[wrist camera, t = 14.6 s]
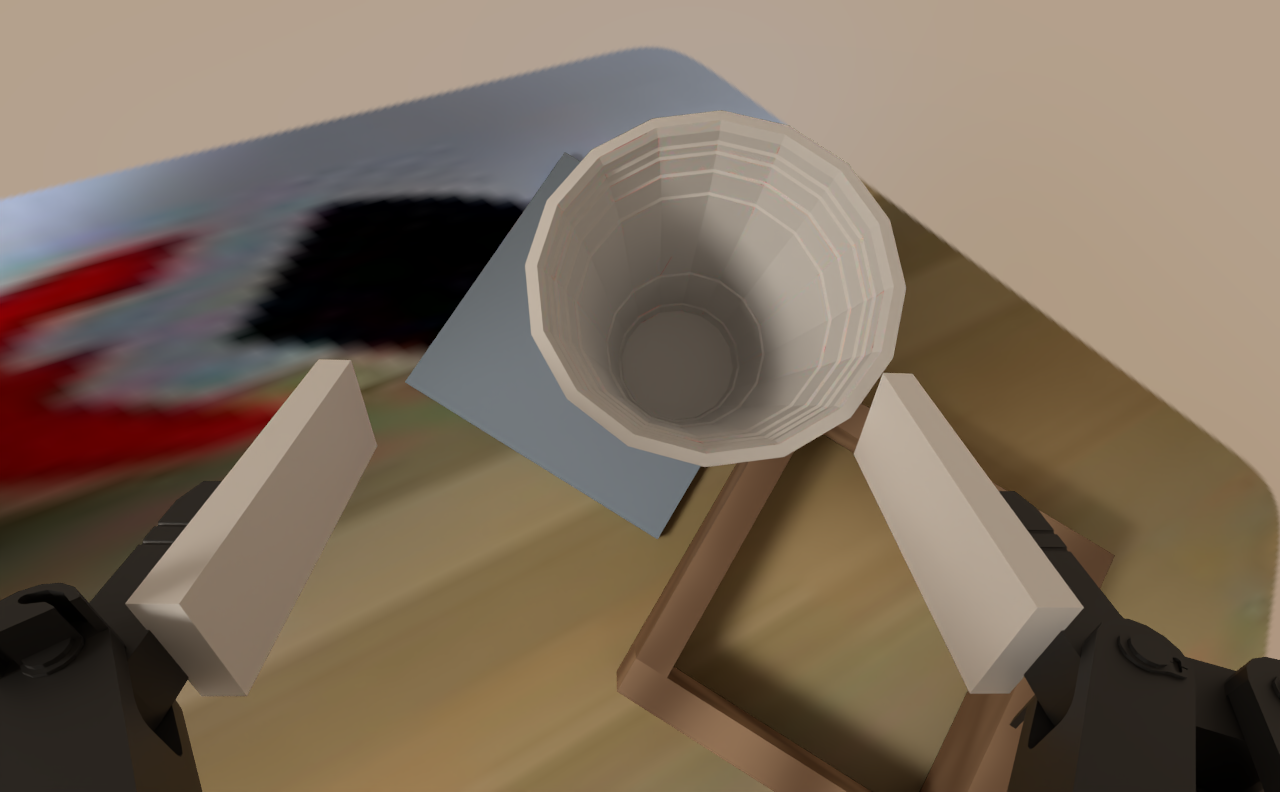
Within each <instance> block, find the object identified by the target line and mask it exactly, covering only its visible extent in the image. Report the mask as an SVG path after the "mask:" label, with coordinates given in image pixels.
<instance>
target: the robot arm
mask: <svg viewBox="0 0 1280 792" xmlns="http://www.w3.org/2000/svg"><path fill="white" fill-rule="evenodd" d="M376 447H377V444H376V440H375V437H374V434H373V431H372V427H371V424H370V421H369V417H368V414H367V411H366V407H365V404H364V401H363V397H362V394H361V391H360V388H359V384H358V381H357V378H356V374H355V371H354V368H353V364H352V361H351V360H326V359H319V360H318V361H317V362H316V363H315V365H314V366H313V367H312V368H311V370H310V371H309V372H308V373H307V375H306V376H305V377H304V378H303V380H302V381H301V382H300V384H299V385H298V386H297V387H296V389H295V390H294V391H293V392H292V394H291V395H290V396H289V397H288V399H287V400H286V401H285V402H284V404H283V405H282V406H281V407H280V409H279V410H278V411H277V413H276V414H275V415H274V416H273V418H272V419H271V420H270V421H269V423H268V424H267V425H266V426H265V428H264V429H263V430H262V431H261V433H260V434H259V435H258V437H257V438H256V439H255V440H254V442H253V443H252V444H251V445H250V447H249V448H248V449H247V450H246V452H245V453H244V454H243V455H242V457H241V458H240V459H239V460H238V462H237V463H236V464H235V466H234V467H233V468H232V469H231V471H230V472H229V473H228V474H227V476H226V477H225V478H224V479H223V481H203V482H202V483H200V484H199V485H197V486H196V487H195V488H193V489H192V490H190V491H189V492H187V493H186V494H185V495H183V496H182V497H180V498H179V499H178V500H176V502H175V503H174V504H173V505H172V506H171V507H170V509H169V510H168V511H167V512H166V513H165V514H164V516H163V517H162V518H161V519H160V520H159V522H158V526H154V527H153V529H152V530H151V531H150V532H149V533H148V534H147V536H146V537H145V538H144V539H143V544H142V545H138V546H137V547H136V549H135V550H134V551H133V552H132V553H131V554H130V556H129V557H128V558H127V559H126V560H125V561H124V563H123V564H122V565H121V566H120V567H119V569H118V570H117V571H116V572H115V573H114V574H113V576H112V577H111V578H110V579H109V580H108V581H107V583H106V584H105V585H104V586H103V587H102V589H101V590H100V591H99V592H98V593H97V594H96V596H95V597H94V598H93V599H92V600H91V601H90V603H88V602H87V600H86V599H85V598H84V597H83V596H82V595H81V594H80V593H79V592H78V590H77V589H76V588H75V587H73V586H70V585H66V584H63V583H52V584H41V585H38V586H35V587H31V588H28V589H25V590H22V591H19V592H17V593H15V594H13V595H11V596H9V597H7V598H5V599H3V600H1V601H0V792H202V789H201V784H200V780H199V776H198V772H197V768H196V764H195V760H194V756H193V752H192V748H191V744H190V740H189V736H188V732H187V728H186V724H185V720H184V716H183V712H182V709H181V707H180V706H179V704H178V703H177V701H176V700H175V699H176V698H177V696H178V694H179V693H180V691H181V689H182V688H183V686H184V685H185V683H186V681H187V680H189V681H190V683H191V684H192V685H193V686H194V687H195V689H196V690H197V691H198V692H199V693H200V695H201V696H247V695H248V693H249V691H250V689H251V687H252V685H253V683H254V681H255V679H256V678H257V676H258V674H259V672H260V670H261V668H262V666H263V664H264V662H265V660H266V658H267V656H268V654H269V653H270V651H271V649H272V647H273V645H274V643H275V641H276V639H277V637H278V635H279V633H280V631H281V630H282V628H283V626H284V624H285V622H286V620H287V618H288V616H289V614H290V612H291V610H292V608H293V607H294V605H295V603H296V601H297V599H298V597H299V595H300V593H301V591H302V589H303V587H304V585H305V584H306V582H307V580H308V578H309V576H310V574H311V572H312V570H313V568H314V566H315V564H316V562H317V561H318V559H319V557H320V555H321V553H322V551H323V549H324V547H325V545H326V543H327V541H328V539H329V538H330V536H331V534H332V532H333V530H334V528H335V526H336V524H337V522H338V520H339V518H340V516H341V515H342V513H343V511H344V509H345V507H346V505H347V503H348V501H349V499H350V497H351V495H352V493H353V491H354V490H355V488H356V486H357V484H358V482H359V480H360V478H361V476H362V474H363V472H364V470H365V468H366V467H367V465H368V463H369V461H370V459H371V457H372V455H373V453H374V451H375V449H376ZM854 456H855V458H856V460H857V462H858V464H859V466H860V468H861V470H862V472H863V474H864V476H865V479H866V481H867V483H868V485H869V487H870V489H871V491H872V493H873V495H874V497H875V499H876V501H877V503H878V505H879V507H880V509H881V511H882V514H883V516H884V518H885V520H886V522H887V524H888V526H889V528H890V530H891V532H892V534H893V536H894V538H895V540H896V542H897V544H898V547H899V549H900V551H901V553H902V555H903V557H904V559H905V561H906V563H907V565H908V567H909V569H910V571H911V573H912V575H913V577H914V579H915V582H916V584H917V586H918V588H919V590H920V592H921V594H922V596H923V598H924V600H925V602H926V604H927V606H928V608H929V610H930V612H931V614H932V617H933V619H934V621H935V623H936V625H937V627H938V629H939V631H940V633H941V635H942V637H943V639H944V641H945V643H946V645H947V647H948V650H949V652H950V654H951V656H952V658H953V660H954V662H955V664H956V666H957V668H958V670H959V672H960V674H961V676H962V678H963V680H964V682H965V685H966V687H967V689H968V691H969V693H970V694H1009V693H1010V692H1011V691H1012V690H1013V689H1014V688H1015V687H1016V685H1017V684H1018V683H1019V682H1020V681H1021V680H1022V678H1023V677H1025V678H1026V680H1027V682H1028V684H1029V685H1030V687H1031V689H1032V691H1033V692H1034V694H1035V695H1034V696H1033V697H1032V698H1031V699H1030V700H1029V701H1028V703H1027V704H1026V705H1025V706H1024V707H1023V708H1022V709H1021V710H1020V711H1019V712H1018V713H1017V714H1016V716H1015V717H1014V718H1013V720H1012V721H1011V723H1010V726H1012V727H1014V728H1015V729H1016V728H1017V727H1018V726H1019V725H1020V724H1021V723H1022V722H1023V721H1024V722H1023V726H1022V730H1021V734H1020V739H1019V743H1018V747H1017V751H1016V756H1015V760H1014V764H1013V768H1012V772H1011V777H1010V781H1009V785H1008V789H1007V792H1280V660H1277V659H1272V658H1268V657H1262V658H1255V659H1252V660H1250V661H1249V662H1248V663H1247V664H1245V665H1244V666H1243V667H1241V668H1240V669H1239V670H1238V671H1234V670H1230V669H1227V668H1223V667H1220V666H1216V665H1212V664H1209V663H1205V662H1202V661H1198V660H1195V659H1191V658H1188V657H1185V656H1184V655H1183V654H1182V652H1181V651H1180V650H1179V649H1178V648H1177V647H1176V646H1174V645H1173V644H1172V643H1171V642H1170V641H1169V640H1168V639H1167V638H1166V637H1164V636H1163V635H1161V634H1159V633H1158V632H1156V631H1154V630H1153V629H1151V628H1150V627H1148V626H1146V625H1143V624H1141V623H1138V622H1135V621H1133V620H1130V619H1124V618H1123V617H1122V616H1121V615H1120V614H1119V613H1118V611H1117V610H1116V609H1115V608H1114V606H1113V605H1112V604H1111V602H1110V601H1109V600H1108V599H1107V597H1106V596H1105V595H1104V593H1103V592H1102V591H1101V590H1100V588H1099V587H1098V586H1097V584H1096V583H1095V582H1094V581H1093V579H1092V578H1091V577H1090V576H1089V574H1088V573H1087V572H1086V570H1085V569H1084V568H1083V567H1082V565H1081V564H1080V563H1079V561H1078V560H1077V559H1076V558H1075V556H1074V555H1073V554H1072V552H1068V551H1067V546H1066V545H1065V544H1064V542H1063V541H1062V540H1061V538H1060V537H1059V536H1058V535H1057V534H1054V529H1053V528H1052V527H1051V526H1050V524H1049V523H1048V522H1047V520H1046V519H1045V518H1044V517H1043V515H1042V514H1041V513H1040V511H1039V510H1038V509H1037V508H1035V507H1034V506H1033V505H1032V504H1030V503H1029V502H1028V501H1026V500H1025V499H1024V498H1023V497H1021V496H1020V495H1019V494H1017V493H1016V492H1015V491H998V490H997V488H996V487H995V486H994V484H993V483H992V481H991V480H990V479H989V477H988V476H987V475H986V473H985V472H984V471H983V469H982V468H981V466H980V465H979V464H978V462H977V461H976V460H975V458H974V457H973V455H972V454H971V453H970V451H969V450H968V449H967V447H966V446H965V445H964V443H963V442H962V440H961V439H960V438H959V436H958V435H957V434H956V432H955V431H954V430H953V428H952V427H951V425H950V424H949V423H948V421H947V420H946V419H945V417H944V416H943V415H942V413H941V412H940V410H939V409H938V408H937V406H936V405H935V404H934V402H933V401H932V399H931V398H930V397H929V395H928V394H927V393H926V391H925V390H924V389H923V387H922V386H921V384H920V383H919V382H918V380H917V379H916V378H915V376H914V375H913V374H906V373H883V374H882V377H881V380H880V383H879V385H878V388H877V391H876V394H875V396H874V399H873V402H872V405H871V408H870V410H869V413H868V416H867V419H866V421H865V424H864V427H863V430H862V433H861V435H860V438H859V441H858V444H857V446H856V449H855V452H854Z"/></svg>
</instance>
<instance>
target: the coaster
mask: <svg viewBox="0 0 1280 792" xmlns="http://www.w3.org/2000/svg"><path fill="white" fill-rule="evenodd" d="M580 162H581V161H579V160H577V159H575V158H574V157H572V156H570V155H569V154H567V153H564V154H563V156H562V157H561V159H560V160H559V161H558V163H557V164H556V166H555V167H554V169H553V170H552V171H551V173H550V174H549V176H548V177H547V179H546V180H545V182H544V183H543V184H542V186H541V187H540V189H539V190H538V192H537V193H536V194H535V196H534V197H533V199H532V200H531V202H530V203H529V205H528V206H527V207H526V209H525V210H524V212H523V213H522V215H521V216H520V217H519V219H518V220H517V222H516V223H515V225H514V226H513V228H512V229H511V230H510V232H509V233H508V235H507V236H506V238H505V239H504V240H503V242H502V243H501V245H500V246H499V248H498V249H497V251H496V252H495V253H494V255H493V256H492V258H491V259H490V261H489V262H488V263H487V265H486V266H485V268H484V269H483V271H482V272H481V273H480V275H479V276H478V278H477V279H476V281H475V282H474V284H473V285H472V286H471V288H470V289H469V291H468V292H467V294H466V295H465V296H464V298H463V299H462V301H461V302H460V304H459V305H458V307H457V308H456V309H455V311H454V312H453V314H452V315H451V317H450V318H449V319H448V321H447V322H446V324H445V325H444V327H443V328H442V330H441V331H440V332H439V334H438V335H437V337H436V338H435V340H434V341H433V342H432V344H431V345H430V347H429V348H428V350H427V351H426V353H425V354H424V355H423V357H422V358H421V360H420V361H419V363H418V364H417V365H416V367H415V368H414V370H413V371H412V373H411V374H410V375H409V377H408V378H407V380H406V381H405V382H406V383H407V384H409V385H410V386H412V387H414V388H415V389H417V390H418V391H420V392H422V393H423V394H425V395H426V396H428V397H430V398H431V399H433V400H435V401H436V402H438V403H439V404H441V405H443V406H444V407H446V408H447V409H449V410H451V411H452V412H454V413H455V414H457V415H459V416H460V417H462V418H463V419H465V420H467V421H468V422H470V423H471V424H473V425H475V426H476V427H478V428H480V429H481V430H483V431H484V432H486V433H488V434H489V435H491V436H492V437H494V438H496V439H497V440H499V441H500V442H502V443H504V444H505V445H507V446H508V447H510V448H512V449H513V450H515V451H516V452H518V453H520V454H521V455H523V456H525V457H526V458H528V459H529V460H531V461H533V462H534V463H536V464H537V465H539V466H541V467H542V468H544V469H545V470H547V471H549V472H550V473H552V474H553V475H555V476H557V477H558V478H560V479H561V480H563V481H565V482H566V483H568V484H569V485H571V486H573V487H574V488H576V489H578V490H579V491H581V492H582V493H584V494H586V495H587V496H589V497H590V498H592V499H594V500H595V501H597V502H598V503H600V504H602V505H603V506H605V507H606V508H608V509H610V510H611V511H613V512H614V513H616V514H618V515H619V516H621V517H623V518H624V519H626V520H627V521H629V522H631V523H632V524H634V525H635V526H637V527H639V528H640V529H642V530H643V531H645V532H647V533H648V534H650V535H651V536H653V537H655V538H656V539H658V538H659V536H660V534H661V533H662V531H663V529H664V527H665V526H666V524H667V522H668V521H669V519H670V517H671V516H672V514H673V512H674V510H675V509H676V507H677V505H678V504H679V502H680V500H681V499H682V497H683V495H684V493H685V492H686V490H687V488H688V487H689V485H690V483H691V482H692V480H693V478H694V476H695V475H696V473H697V471H698V470H699V468H700V466H699V465H695V464H692V463H688V462H684V461H681V460H677V459H673V458H670V457H666V456H662V455H658V454H655V453H651V452H647V451H644V450H640V449H636V448H633V447H629V446H627V445H626V444H625V443H623V442H622V441H621V440H619V439H618V438H617V437H616V436H614V435H613V434H612V433H610V432H609V431H608V430H606V429H605V428H604V427H603V426H601V425H600V424H599V423H597V422H596V421H595V420H594V419H592V418H591V417H590V416H588V415H587V414H586V413H584V412H583V411H582V410H581V409H579V408H578V407H577V406H575V405H574V404H573V403H572V402H570V401H569V400H568V399H567V398H566V396H565V394H564V393H563V391H562V389H561V387H560V386H559V384H558V382H557V380H556V378H555V377H554V375H553V373H552V371H551V369H550V368H549V366H548V364H547V362H546V360H545V359H544V357H543V355H542V353H541V351H540V350H539V348H538V346H537V344H536V342H535V341H534V339H533V337H532V335H531V326H530V315H529V304H528V293H527V282H526V271H525V263H526V260H527V257H528V254H529V251H530V248H531V245H532V243H533V240H534V237H535V234H536V231H537V228H538V225H539V222H540V219H541V216H542V213H543V210H544V207H545V204H546V201H547V200H548V198H549V197H550V196H551V195H552V194H553V193H554V192H555V191H556V189H557V188H558V187H559V186H560V185H561V184H562V183H563V182H564V180H565V179H566V178H567V177H568V176H569V175H570V174H571V172H572V171H573V170H574V169H575V168H576V167H577V166H578V165H579V163H580Z"/></svg>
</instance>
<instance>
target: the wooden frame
mask: <svg viewBox="0 0 1280 792" xmlns="http://www.w3.org/2000/svg"><path fill="white" fill-rule="evenodd" d="M869 410H870V408H869V407H867V406H865V405H864V404H862V403H861V404H860V405H859V407H858V408H857V409H856V411H855V412H854V414H853V415H852V417H851V418H849V419H848V420H846V421H844V422H843V423H841V424H839V425H838V426H836V427H834V428H832V429H831V430H829V431H827V432H826V433H824V434H823V435H825V436H827V437H828V438H830V439H832V440H833V441H835V442H837V443H838V444H840V445H842V446H843V447H845V448H847V449H848V450H850V451H851V452H853V453H854V452H855V449H856V446H857V444H858V441H859V438H860V435H861V433H862V430H863V427H864V424H865V421H866V419H867V416H868V413H869ZM793 453H794V451H793V452H792V453H790V454H788V455H787V456H785V457H780V458H772V459H764V460H757V461H749V462H741V463H737V464H736V466H735V468H734V469H733V471H732V473H731V474H730V476H729V478H728V480H727V481H726V483H725V485H724V487H723V488H722V490H721V492H720V494H719V495H718V497H717V499H716V500H715V502H714V504H713V506H712V507H711V509H710V511H709V513H708V514H707V516H706V518H705V520H704V521H703V523H702V525H701V526H700V528H699V530H698V532H697V533H696V535H695V537H694V539H693V540H692V542H691V544H690V545H689V547H688V549H687V551H686V552H685V554H684V556H683V558H682V559H681V561H680V563H679V565H678V566H677V568H676V570H675V571H674V573H673V575H672V577H671V578H670V580H669V582H668V584H667V585H666V587H665V589H664V591H663V592H662V594H661V596H660V597H659V599H658V601H657V603H656V604H655V606H654V608H653V610H652V611H651V613H650V615H649V616H648V618H647V620H646V622H645V623H644V625H643V627H642V629H641V630H640V632H639V634H638V636H637V637H636V639H635V641H634V642H633V644H632V646H631V648H630V649H629V651H628V653H627V655H626V656H625V658H624V660H623V662H622V663H621V665H620V667H619V668H618V670H617V692H619V693H620V694H622V695H623V696H625V697H627V698H628V699H630V700H631V701H633V702H634V703H636V704H638V705H639V706H641V707H642V708H644V709H645V710H647V711H649V712H650V713H652V714H653V715H655V716H656V717H658V718H660V719H661V720H663V721H664V722H666V723H667V724H669V725H671V726H672V727H674V728H675V729H677V730H678V731H680V732H682V733H683V734H685V735H686V736H688V737H689V738H691V739H693V740H694V741H696V742H697V743H699V744H700V745H702V746H704V747H705V748H707V749H708V750H710V751H711V752H713V753H715V754H716V755H718V756H719V757H721V758H722V759H724V760H726V761H727V762H729V763H730V764H732V765H733V766H735V767H737V768H738V769H740V770H741V771H743V772H744V773H746V774H748V775H749V776H751V777H752V778H754V779H755V780H757V781H759V782H760V783H762V784H763V785H765V786H766V787H768V788H770V789H771V790H773V791H774V792H871V791H870V790H868V789H867V788H865V787H863V786H862V785H860V784H859V783H857V782H856V781H854V780H852V779H851V778H849V777H848V776H846V775H844V774H843V773H841V772H840V771H838V770H837V769H835V768H833V767H832V766H830V765H829V764H827V763H825V762H824V761H822V760H821V759H819V758H818V757H816V756H814V755H813V754H811V753H810V752H808V751H806V750H805V749H803V748H802V747H800V746H799V745H797V744H795V743H794V742H792V741H791V740H789V739H787V738H786V737H784V736H783V735H781V734H780V733H778V732H776V731H775V730H773V729H772V728H770V727H768V726H767V725H765V724H764V723H762V722H761V721H759V720H757V719H756V718H754V717H753V716H751V715H749V714H748V713H746V712H745V711H743V710H742V709H740V708H738V707H737V706H735V705H734V704H732V703H730V702H729V701H727V700H726V699H724V698H723V697H721V696H719V695H718V694H716V693H715V692H713V691H711V690H710V689H708V688H707V687H705V686H704V685H702V684H700V683H699V682H697V681H696V680H694V679H692V678H691V677H689V676H688V675H686V674H685V673H683V672H681V671H680V670H678V669H677V668H675V667H673V666H674V664H675V663H676V661H677V659H678V657H679V655H680V654H681V652H682V650H683V648H684V647H685V645H686V643H687V641H688V639H689V638H690V636H691V634H692V632H693V631H694V629H695V627H696V625H697V623H698V622H699V620H700V618H701V616H702V615H703V613H704V611H705V609H706V607H707V606H708V604H709V602H710V600H711V598H712V597H713V595H714V593H715V591H716V590H717V588H718V586H719V584H720V582H721V581H722V579H723V577H724V575H725V574H726V572H727V570H728V568H729V566H730V565H731V563H732V561H733V559H734V558H735V556H736V554H737V552H738V550H739V549H740V547H741V545H742V543H743V542H744V540H745V538H746V536H747V534H748V533H749V531H750V529H751V527H752V526H753V524H754V522H755V520H756V518H757V517H758V515H759V513H760V511H761V510H762V508H763V506H764V504H765V502H766V501H767V499H768V497H769V495H770V494H771V492H772V490H773V488H774V486H775V485H776V483H777V481H778V479H779V478H780V476H781V474H782V472H783V470H784V469H785V467H786V465H787V463H788V462H789V460H790V458H791V456H792V454H793ZM992 483H993V482H992ZM993 484H994V486H995V487H996V488H997V490H998V491H1007V490H1005V489H1003V488H1002V487H1000V486H998V485H997V484H995V483H993ZM1039 511H1040V510H1039ZM1040 513H1041V514H1042V515H1043V517H1044V518H1045V519H1046V520H1047V522H1048V523H1049V524H1050V526H1051V527H1052V528H1053V529H1054V534H1057V535H1058V536H1059V537H1060V538H1061V540H1062V541H1063V542H1064V544H1065V545H1066V546H1067V551H1068V552H1072V554H1073V555H1074V556H1075V558H1076V559H1077V560H1078V561H1079V563H1080V564H1081V565H1082V567H1083V568H1084V569H1085V570H1086V572H1087V573H1088V574H1089V576H1090V577H1091V578H1092V579H1093V581H1094V582H1095V583H1096V584H1097V586H1098V587H1099V588H1100V587H1101V585H1102V583H1103V581H1104V578H1105V576H1106V574H1107V572H1108V570H1109V567H1110V565H1111V563H1112V561H1113V558H1114V556H1115V555H1113V554H1111V553H1110V552H1108V551H1106V550H1105V549H1103V548H1101V547H1100V546H1098V545H1096V544H1095V543H1093V542H1091V541H1090V540H1088V539H1086V538H1085V537H1083V536H1081V535H1080V534H1078V533H1076V532H1075V531H1073V530H1071V529H1070V528H1068V527H1067V526H1065V525H1063V524H1062V523H1060V522H1058V521H1057V520H1055V519H1053V518H1052V517H1050V516H1048V515H1047V514H1045V513H1043V512H1042V511H1040ZM1034 695H1035V694H1034V692H1033V691H1032V689H1031V687H1030V685H1029V684H1028V682H1027V680H1026V678H1025V677H1023V678H1022V680H1021V681H1020V682H1019V683H1018V684H1017V685H1016V687H1015V688H1014V689H1013V690H1012V691H1011V692H1010V693H1009V694H970V693H969V691H968V692H967V694H966V696H965V698H964V700H963V702H962V704H961V706H960V709H959V711H958V713H957V715H956V717H955V719H954V721H953V723H952V725H951V728H950V730H949V732H948V734H947V736H946V738H945V740H944V742H943V744H942V747H941V749H940V751H939V753H938V755H937V757H936V759H935V761H934V763H933V765H932V768H931V770H930V772H929V774H928V776H927V778H926V780H925V782H924V784H923V787H922V789H921V791H920V792H1007V789H1008V785H1009V781H1010V777H1011V772H1012V768H1013V764H1014V760H1015V756H1016V751H1017V747H1018V743H1019V739H1020V734H1021V730H1022V726H1023V722H1024V721H1023V722H1022V723H1021V724H1020V725H1019V726H1018V727H1017V728H1016V729H1015V728H1014V727H1012V726H1010V723H1011V721H1012V720H1013V718H1014V717H1015V716H1016V714H1017V713H1018V712H1019V711H1020V710H1021V709H1022V708H1023V707H1024V706H1025V705H1026V704H1027V703H1028V701H1029V700H1030V699H1031V698H1032V697H1033V696H1034Z"/></svg>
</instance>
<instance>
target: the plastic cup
mask: <svg viewBox="0 0 1280 792" xmlns="http://www.w3.org/2000/svg"><path fill="white" fill-rule="evenodd" d="M525 271H526V282H527V293H528V304H529V315H530V326H531V335H532V337H533V339H534V341H535V342H536V344H537V346H538V348H539V350H540V351H541V353H542V355H543V357H544V359H545V360H546V362H547V364H548V366H549V368H550V369H551V371H552V373H553V375H554V377H555V378H556V380H557V382H558V384H559V386H560V387H561V389H562V391H563V393H564V394H565V396H566V398H567V399H568V400H569V401H570V402H572V403H573V404H574V405H575V406H577V407H578V408H579V409H581V410H582V411H583V412H584V413H586V414H587V415H588V416H590V417H591V418H592V419H594V420H595V421H596V422H597V423H599V424H600V425H601V426H603V427H604V428H605V429H606V430H608V431H609V432H610V433H612V434H613V435H614V436H616V437H617V438H618V439H619V440H621V441H622V442H623V443H625V444H626V445H627V446H629V447H633V448H636V449H640V450H644V451H647V452H651V453H655V454H658V455H662V456H666V457H670V458H673V459H677V460H681V461H684V462H688V463H692V464H695V465H699V466H703V467H710V466H718V465H726V464H733V463H741V462H749V461H757V460H764V459H772V458H780V457H785V456H787V455H788V454H790V453H792V452H793V451H795V450H797V449H798V448H800V447H802V446H804V445H805V444H807V443H809V442H810V441H812V440H814V439H815V438H817V437H819V436H821V435H822V434H824V433H826V432H827V431H829V430H831V429H832V428H834V427H836V426H838V425H839V424H841V423H843V422H844V421H846V420H848V419H849V418H851V417H852V415H853V414H854V412H855V411H856V409H857V408H858V407H859V405H860V404H861V402H862V401H863V400H864V398H865V397H866V395H867V394H868V393H869V391H870V390H871V388H872V387H873V385H874V384H875V383H876V381H877V380H878V378H879V377H880V376H881V374H882V373H883V371H884V370H885V369H886V367H887V366H888V364H889V363H890V361H891V360H892V359H893V356H894V351H895V345H896V340H897V335H898V329H899V324H900V319H901V313H902V308H903V303H904V297H905V292H906V285H905V280H904V276H903V272H902V268H901V264H900V260H899V256H898V251H897V247H896V243H895V239H894V235H893V231H892V226H891V222H890V219H889V218H888V217H887V215H886V214H885V213H884V211H883V210H882V208H881V207H880V206H879V204H878V203H877V202H876V200H875V199H874V198H873V196H872V195H871V193H870V192H869V191H868V189H867V188H866V187H865V185H864V184H863V183H862V181H861V180H860V178H859V177H858V176H857V174H856V173H855V172H854V170H853V169H852V168H851V166H850V165H849V164H848V163H847V162H845V161H844V160H842V159H841V158H839V157H837V156H836V155H834V154H833V153H831V152H830V151H828V150H826V149H825V148H823V147H822V146H820V145H819V144H817V143H815V142H814V141H812V140H811V139H809V138H808V137H806V136H805V135H803V134H802V133H800V132H799V131H797V130H795V129H794V128H792V127H791V126H788V125H784V124H779V123H775V122H771V121H766V120H762V119H757V118H753V117H748V116H744V115H740V114H735V113H731V112H726V111H722V110H720V111H712V112H704V113H695V114H687V115H679V116H670V117H662V118H654V119H651V120H649V121H647V122H645V123H643V124H641V125H639V126H637V127H635V128H633V129H631V130H629V131H627V132H625V133H623V134H622V135H620V136H618V137H616V138H614V139H612V140H610V141H608V142H606V143H604V144H602V145H600V146H598V147H596V148H594V149H592V150H591V151H590V152H589V153H588V154H587V156H586V157H585V158H584V159H583V160H582V161H581V162H580V163H579V165H578V166H577V167H576V168H575V169H574V170H573V171H572V172H571V174H570V175H569V176H568V177H567V178H566V179H565V180H564V182H563V183H562V184H561V185H560V186H559V187H558V188H557V189H556V191H555V192H554V193H553V194H552V195H551V196H550V197H549V198H548V200H547V201H546V204H545V207H544V210H543V213H542V216H541V219H540V222H539V225H538V228H537V231H536V234H535V237H534V240H533V243H532V245H531V248H530V251H529V254H528V257H527V260H526V263H525Z"/></svg>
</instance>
